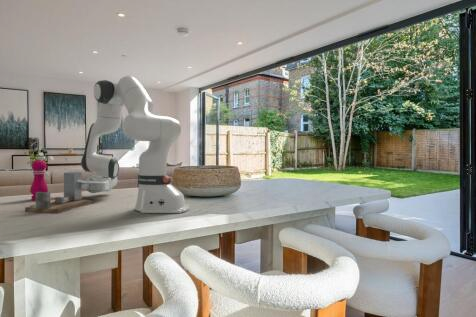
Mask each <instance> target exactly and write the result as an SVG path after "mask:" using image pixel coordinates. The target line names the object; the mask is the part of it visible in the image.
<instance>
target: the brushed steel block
mask: <svg viewBox="0 0 476 317" xmlns="http://www.w3.org/2000/svg"><path fill="white" fill-rule="evenodd" d="M82 176H83V173H82V172H80V171H79V172H78V171H69V172H64V173H63V197H64V203H65V202H68V201H76V200H83V199H82V195H83V194H82V191H83V190H82V180H83V177H82Z"/></svg>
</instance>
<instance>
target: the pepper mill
mask: <svg viewBox="0 0 476 317" xmlns="http://www.w3.org/2000/svg"><path fill="white" fill-rule="evenodd" d="M31 168H32V174H33V180H32V181H33V182H32V183H31V186H30V189H29V190H30V191H29V192H30V194H32V195H31V198H30V199H31V201H36V192H49V187H48V185H47V182H46V179H45V174H46V169H47V163H46V161H44V160H42V157H40V156H37V158H36V160H35V161H33V162H32V163H31Z"/></svg>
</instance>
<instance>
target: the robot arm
mask: <svg viewBox="0 0 476 317" xmlns="http://www.w3.org/2000/svg"><path fill="white" fill-rule="evenodd" d="M93 95H94V99H95V100H96V101H97V103H98V107H97V114H96V115H97V117H96V121H95V122H94V123H92V124H91V125H90V127H89V130H88V133H87V139H86V143H85V148H84V151H83V154H82V156H81V160H80V165H81V168H82V169H83V171H84V172H86V173H87V172H88V173H95V174H92V175H89V176H87V177H86V178H85V180H83V179H82V191H87V192H88V193H90V194H96V193H101V192H110V191H112V189H113V188H115V187H116V185H117V184H118V174H119V170H120V163H119V162H118V160H117V158H116V157H113V156H110V155H103V154H98V153H97V149H98V148H97V146H98V144H99V138H100V137H101V136H104V135H109V134H112V133H114V132H117V131H118V130H119V128H121V125H122V132H123V134H124V136H125V137H126V138H127V139H129V140H133V141H138V142H149V146H148V148H147V149H146V150H145V151H143V152H142V153H141V154H140V155H139V157H138V175H137V197H136V202H135V206H134V210H135V211H137V212H140V213H142V214H146V213H147V214H180V213H185V212H187V211H189V210H191V207H190V204H186V202H185V196H184V193H182V192H181V191H180V190H179V189H178V188H177V187H175V186H173V184H172V183H171V182H172V178H173V177H172V176H170V175H168V174H167V167H168V166H167V163H168V155H169V151H170V149H171V147H172V145H173V143H174V142H175V141H176V140H178V138H179V137H180V136H181V131H182V128H181V127H182V126H181V123H180V122H179V120H178V119H176V118H173V117H171V116H167V115H159V114H153V113H152V112H153V110H154V102H153V100H152V98H151V97H150V95H149V92H148V91H147V90H146V88H145V87H144V86H143V84H142V83H141V82H140V81H139V80H138V79H137V78H136V77H134V76H131V75H126V76H123V77H121V78H120V79H119V80H107V79H103V80H99V81H97V82H96V83H95V84H94V87H93ZM123 106H124V107H125V108H126V110H127V112H128V114H127V115H126V116H125V117H124V119H123V122H122V113H123V112H122V110H123V109H122V108H123Z"/></svg>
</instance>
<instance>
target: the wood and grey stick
mask: <svg viewBox="0 0 476 317" xmlns="http://www.w3.org/2000/svg"><path fill="white" fill-rule="evenodd" d="M54 200H55V203H60V204H62V203H64V196H56V197H52V196H50V201H54Z"/></svg>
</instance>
